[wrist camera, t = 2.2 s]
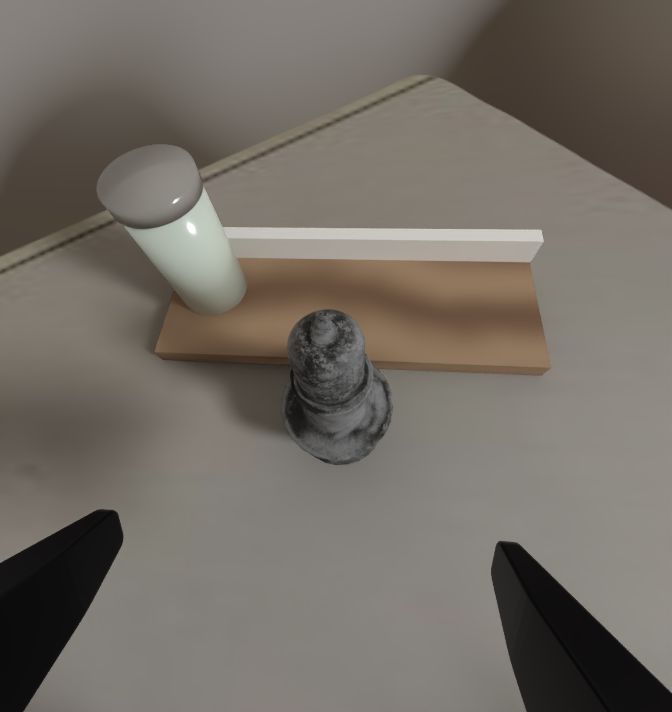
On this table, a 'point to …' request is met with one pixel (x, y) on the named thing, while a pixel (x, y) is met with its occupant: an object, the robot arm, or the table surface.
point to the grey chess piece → (334, 390)
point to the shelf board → (375, 314)
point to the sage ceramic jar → (174, 225)
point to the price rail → (386, 244)
